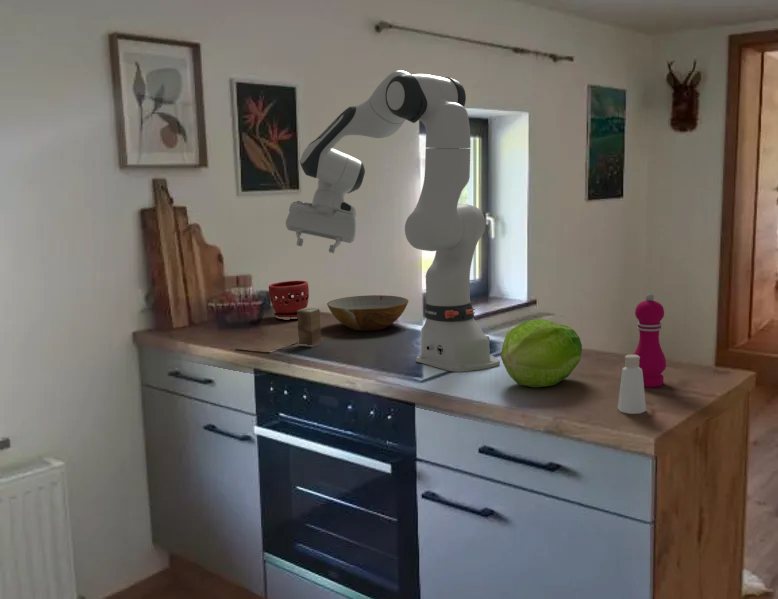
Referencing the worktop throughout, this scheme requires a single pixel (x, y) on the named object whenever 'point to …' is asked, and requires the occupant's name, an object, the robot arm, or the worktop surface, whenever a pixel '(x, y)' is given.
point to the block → (309, 326)
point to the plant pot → (289, 297)
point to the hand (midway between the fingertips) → (315, 248)
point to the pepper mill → (650, 341)
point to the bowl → (368, 311)
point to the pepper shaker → (632, 387)
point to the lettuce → (540, 353)
